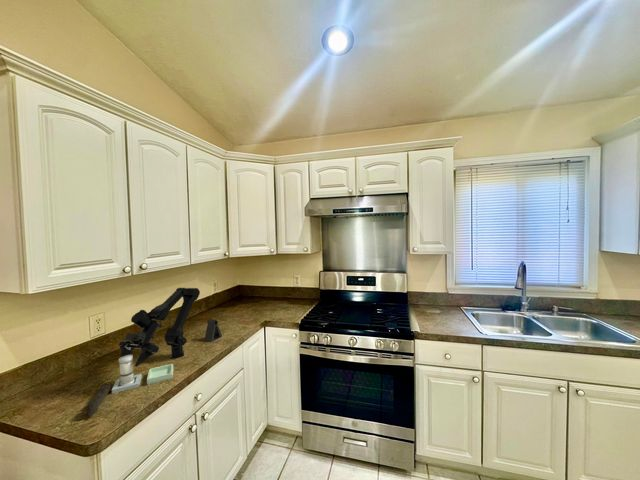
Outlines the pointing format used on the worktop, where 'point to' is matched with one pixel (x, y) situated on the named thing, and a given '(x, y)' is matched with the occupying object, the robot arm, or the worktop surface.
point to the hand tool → (98, 399)
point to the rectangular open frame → (126, 387)
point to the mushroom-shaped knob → (126, 370)
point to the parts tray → (160, 374)
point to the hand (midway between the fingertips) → (127, 365)
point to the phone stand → (212, 331)
